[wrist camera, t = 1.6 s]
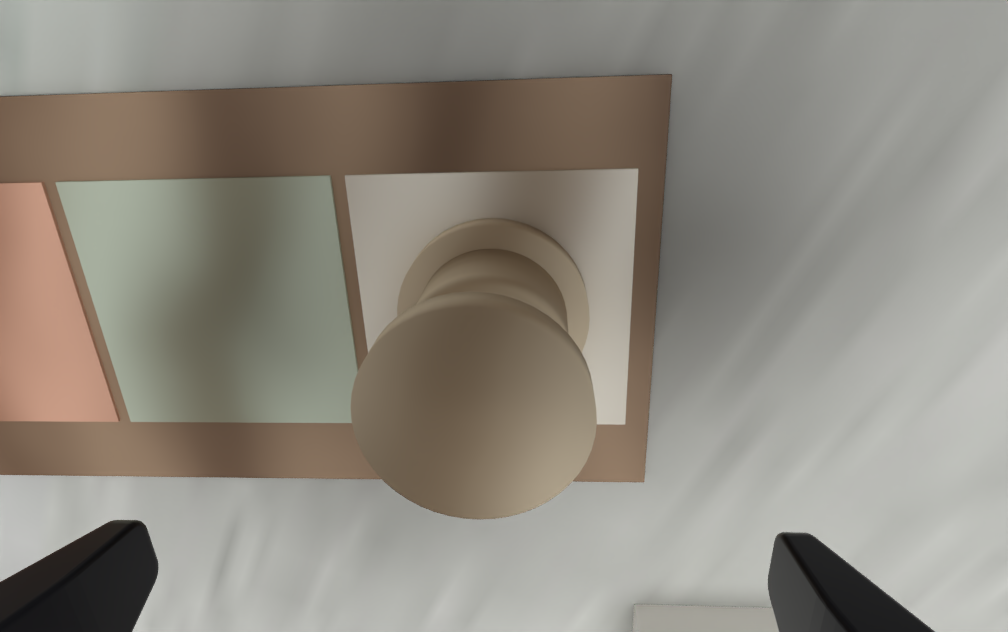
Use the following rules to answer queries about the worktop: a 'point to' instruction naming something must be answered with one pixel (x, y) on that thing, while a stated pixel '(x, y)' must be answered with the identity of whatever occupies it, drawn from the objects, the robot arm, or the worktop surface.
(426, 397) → the pawn
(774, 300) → the worktop surface
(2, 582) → the robot arm
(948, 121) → the worktop surface
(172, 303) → the board
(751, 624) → the die
